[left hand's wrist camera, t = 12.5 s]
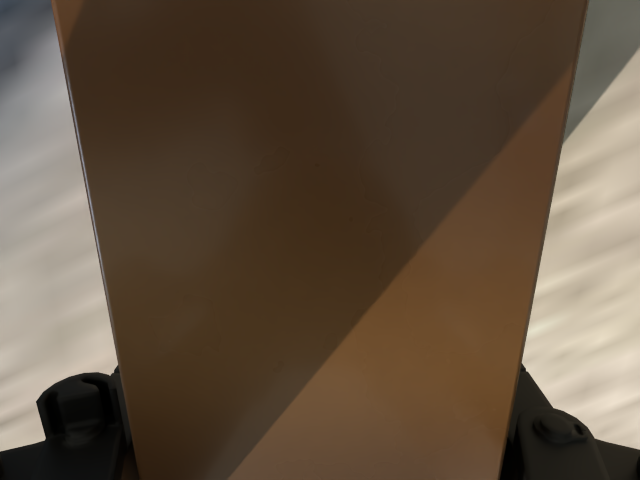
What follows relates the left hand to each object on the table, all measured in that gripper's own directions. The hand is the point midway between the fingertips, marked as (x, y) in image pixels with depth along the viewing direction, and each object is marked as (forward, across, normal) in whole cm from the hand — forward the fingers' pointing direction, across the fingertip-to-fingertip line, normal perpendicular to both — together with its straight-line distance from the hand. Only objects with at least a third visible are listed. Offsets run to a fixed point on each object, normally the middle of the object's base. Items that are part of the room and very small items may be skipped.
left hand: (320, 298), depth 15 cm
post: (+1, 0, -28) cm, 28 cm away
